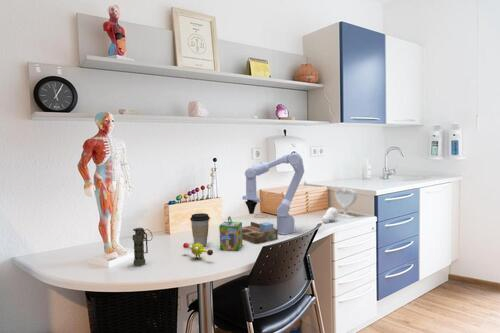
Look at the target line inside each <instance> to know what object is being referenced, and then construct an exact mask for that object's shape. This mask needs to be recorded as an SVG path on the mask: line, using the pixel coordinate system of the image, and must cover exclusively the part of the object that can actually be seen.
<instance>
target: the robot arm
mask: <svg viewBox="0 0 500 333" xmlns="http://www.w3.org/2000/svg"><path fill="white" fill-rule="evenodd" d="M281 164H290V165H291V167H292V169H293V171H294V173H293V176H292V179H291V181H290V183H289V185H288V188H287V190H286V192H285V195H284V198H283V200H282V201H281V203H280V204H278V207H277V209H276V214H277V215H276V229H277V230H278V235H282V236H283V235H284V236H285V235H289V234H293V233H296V230H295V218H294V216H293V215H291V214H289V212H290V209H291V204H292V201H293V198H294V196H295V195H296V191H297V189H298V187H299V186H300V182H301V180H302V178H303V176H304V174H305V166H304V160H303V157H302V156H301V155H300V153H298V152H293V153H290V154H286V155H282V156H281V157H278V158H276V159H273V160H272V161H269V162H266V161H260V162H259V163H258V164H256V165H252V166H251V167H248V168H247V169H246V170H245V172H244V176H245V195H242V200H245V202H244V203H245V204H246V207H247V210H248V214H249V215H254V214H255V209H256V206H257V204H258V203H261V200H262V199H261V198H259V197H257V176H260V175H263V174H266V173H268V172H269V171H270V169H271V168H273V167H274V168H275V167H276V166H278V165H281Z"/></svg>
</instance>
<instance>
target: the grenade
mask: <svg viewBox="0 0 500 333" xmlns="http://www.w3.org/2000/svg"><path fill="white" fill-rule="evenodd" d="M132 231H134V234H133V235H132V241H133V254H134V257H133V258H134V260H133V263H132V264H133V266H134V267H142V266H144V265H146V258H145V254H148V252H149V250H148V242H149V241H150V242H151V241H152V240H153V238H151V239H150V240H148V233H147V232H146V231H148V232H149V233H150V235H151V236H153V233H152V231H150V229H145V228H144V227H136V228H135V227H134V228H133V229H132ZM144 242H145V244H144ZM144 247H145V248H144ZM144 249H145V250H144Z"/></svg>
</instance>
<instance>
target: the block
mask: <svg viewBox="0 0 500 333" xmlns="http://www.w3.org/2000/svg"><path fill="white" fill-rule="evenodd" d="M259 224H260V233H261V232H265V231H270V230H273V228H274V223H272V222H268V221H265V222H261V223H260V222H259Z"/></svg>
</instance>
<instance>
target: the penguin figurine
mask: <svg viewBox="0 0 500 333" xmlns="http://www.w3.org/2000/svg"><path fill="white" fill-rule="evenodd" d="M338 214H339V212H338V209H337V208H336V207H334V206H333V207H329V208H328V209H327V210H326V212H325V213H324V215H323V216H322V217H321V221H322V222H323V224H326V223H327V224H328V223H329V222H330V220H331V221H333V222H334V223H336V222H337V218H338V216H339V215H338ZM328 220H329V221H328Z"/></svg>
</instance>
